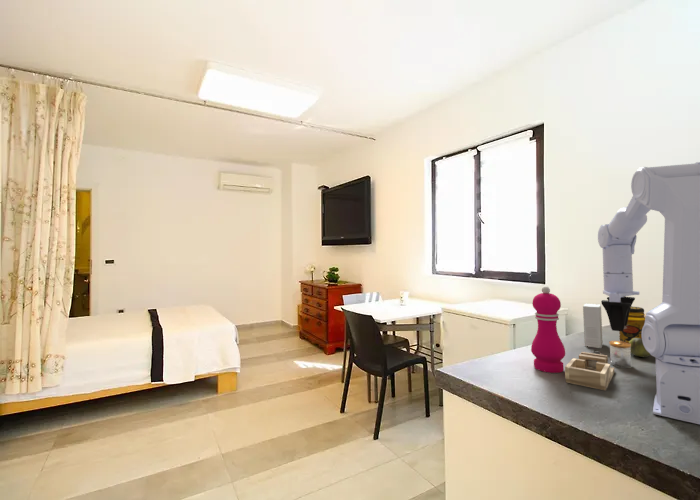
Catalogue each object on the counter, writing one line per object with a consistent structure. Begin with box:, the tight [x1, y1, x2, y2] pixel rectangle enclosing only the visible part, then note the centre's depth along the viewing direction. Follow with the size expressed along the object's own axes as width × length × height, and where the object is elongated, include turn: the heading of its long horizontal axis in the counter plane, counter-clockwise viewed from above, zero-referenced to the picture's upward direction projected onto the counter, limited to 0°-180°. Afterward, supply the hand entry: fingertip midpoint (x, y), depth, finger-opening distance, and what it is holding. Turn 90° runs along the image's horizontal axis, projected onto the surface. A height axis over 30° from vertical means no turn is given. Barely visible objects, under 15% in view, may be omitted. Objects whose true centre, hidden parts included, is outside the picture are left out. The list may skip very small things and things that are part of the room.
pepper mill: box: [530, 286, 566, 374], centre depth 84 cm, size 7×7×20 cm
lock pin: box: [588, 350, 604, 368], centre depth 82 cm, size 8×2×2 cm, turn 136°
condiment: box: [618, 305, 646, 343], centre depth 98 cm, size 7×8×12 cm
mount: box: [564, 351, 616, 391], centre depth 77 cm, size 14×7×4 cm, turn 136°
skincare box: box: [582, 303, 604, 349], centre depth 103 cm, size 6×4×12 cm
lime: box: [629, 338, 651, 358], centre depth 91 cm, size 4×5×5 cm
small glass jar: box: [608, 340, 632, 369], centre depth 85 cm, size 4×4×6 cm
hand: (619, 327), depth 85 cm, fingers open, 7 cm apart
